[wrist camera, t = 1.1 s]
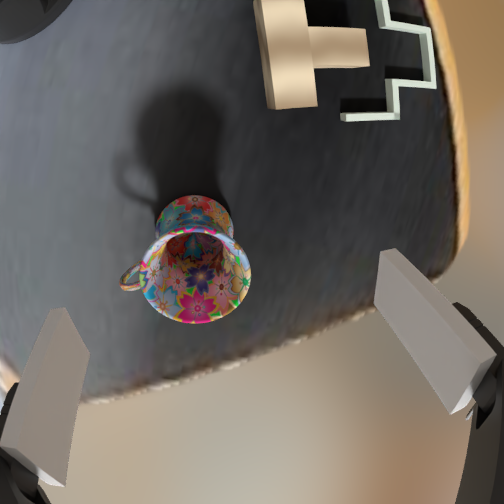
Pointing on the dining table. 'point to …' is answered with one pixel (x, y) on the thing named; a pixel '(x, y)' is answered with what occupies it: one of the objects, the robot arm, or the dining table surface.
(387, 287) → the robot arm
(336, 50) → the t block
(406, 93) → the dining table surface
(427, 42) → the jig
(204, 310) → the mug
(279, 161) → the dining table surface
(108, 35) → the dining table surface
